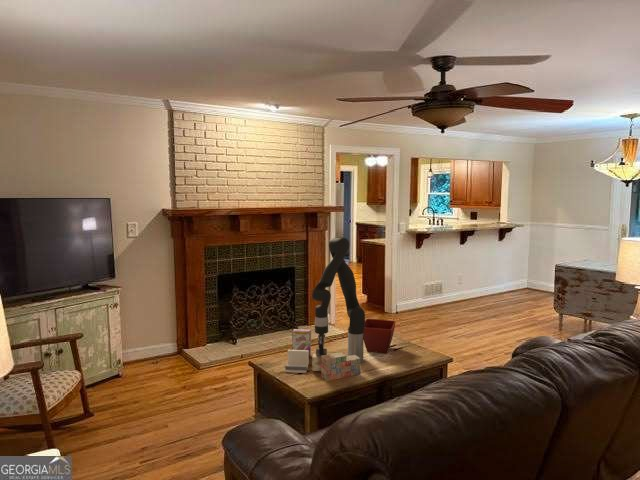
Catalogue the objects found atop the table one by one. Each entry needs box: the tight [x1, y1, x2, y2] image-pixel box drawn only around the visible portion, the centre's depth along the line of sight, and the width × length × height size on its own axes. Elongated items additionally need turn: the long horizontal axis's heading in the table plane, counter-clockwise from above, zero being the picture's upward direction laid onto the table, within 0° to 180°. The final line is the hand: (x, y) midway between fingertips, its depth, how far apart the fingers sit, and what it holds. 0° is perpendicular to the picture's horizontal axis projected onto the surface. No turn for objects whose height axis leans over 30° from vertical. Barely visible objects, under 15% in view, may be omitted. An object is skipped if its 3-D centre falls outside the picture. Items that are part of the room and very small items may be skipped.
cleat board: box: [284, 349, 310, 374], centre depth 265 cm, size 12×12×9 cm
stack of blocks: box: [320, 351, 361, 382], centre depth 255 cm, size 21×6×12 cm, turn 115°
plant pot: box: [363, 318, 396, 354], centre depth 295 cm, size 19×19×17 cm
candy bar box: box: [291, 328, 312, 358], centre depth 283 cm, size 11×5×16 cm, turn 84°
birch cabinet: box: [311, 347, 330, 372], centre depth 261 cm, size 10×5×12 cm, turn 85°
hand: (321, 353), depth 260 cm, fingers closed on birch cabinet, 1 cm apart
